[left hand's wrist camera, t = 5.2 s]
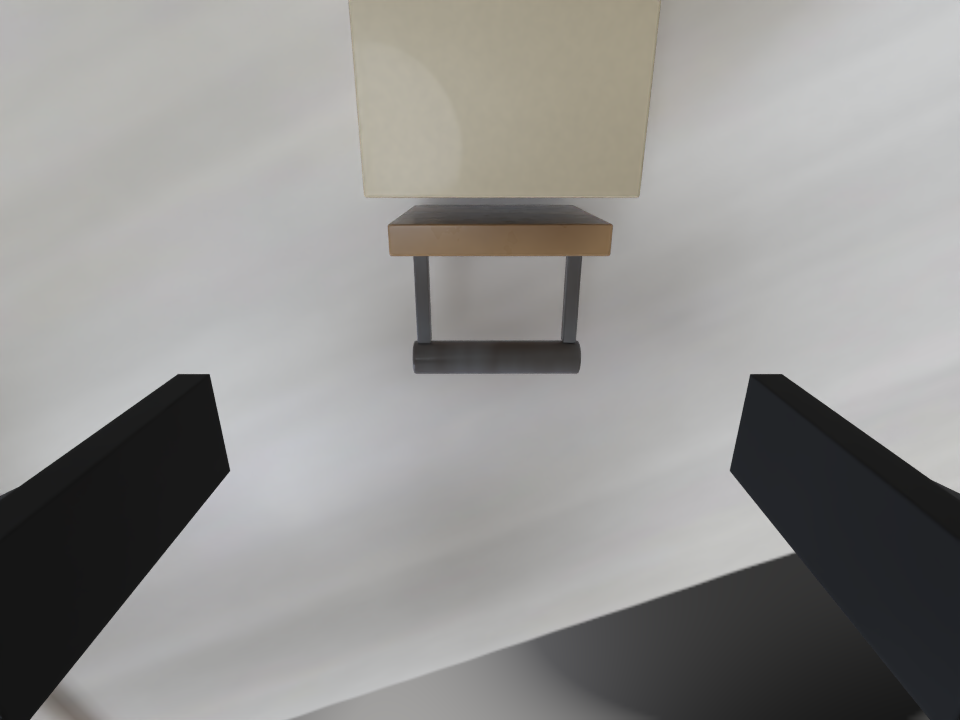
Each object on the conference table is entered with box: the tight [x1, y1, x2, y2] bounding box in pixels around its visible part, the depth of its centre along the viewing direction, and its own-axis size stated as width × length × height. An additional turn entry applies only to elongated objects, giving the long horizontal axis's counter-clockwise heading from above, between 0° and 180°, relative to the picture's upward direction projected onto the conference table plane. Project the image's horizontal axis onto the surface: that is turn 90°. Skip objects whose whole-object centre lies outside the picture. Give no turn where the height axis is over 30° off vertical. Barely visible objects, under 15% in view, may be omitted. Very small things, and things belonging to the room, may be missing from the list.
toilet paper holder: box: [388, 206, 613, 374], centre depth 22 cm, size 21×8×8 cm, turn 0°
